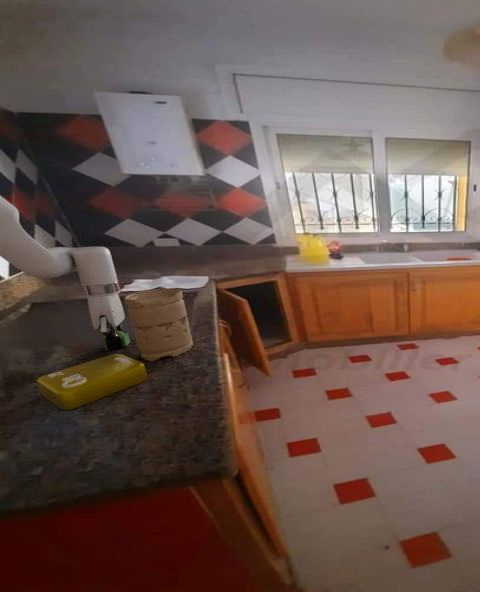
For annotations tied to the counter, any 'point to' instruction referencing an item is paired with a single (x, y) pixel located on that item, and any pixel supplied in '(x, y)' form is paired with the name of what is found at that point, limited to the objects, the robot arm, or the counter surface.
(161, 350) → the container
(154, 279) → the counter surface
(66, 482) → the counter surface
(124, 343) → the toy
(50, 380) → the element tile
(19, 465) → the counter surface
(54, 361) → the counter surface
